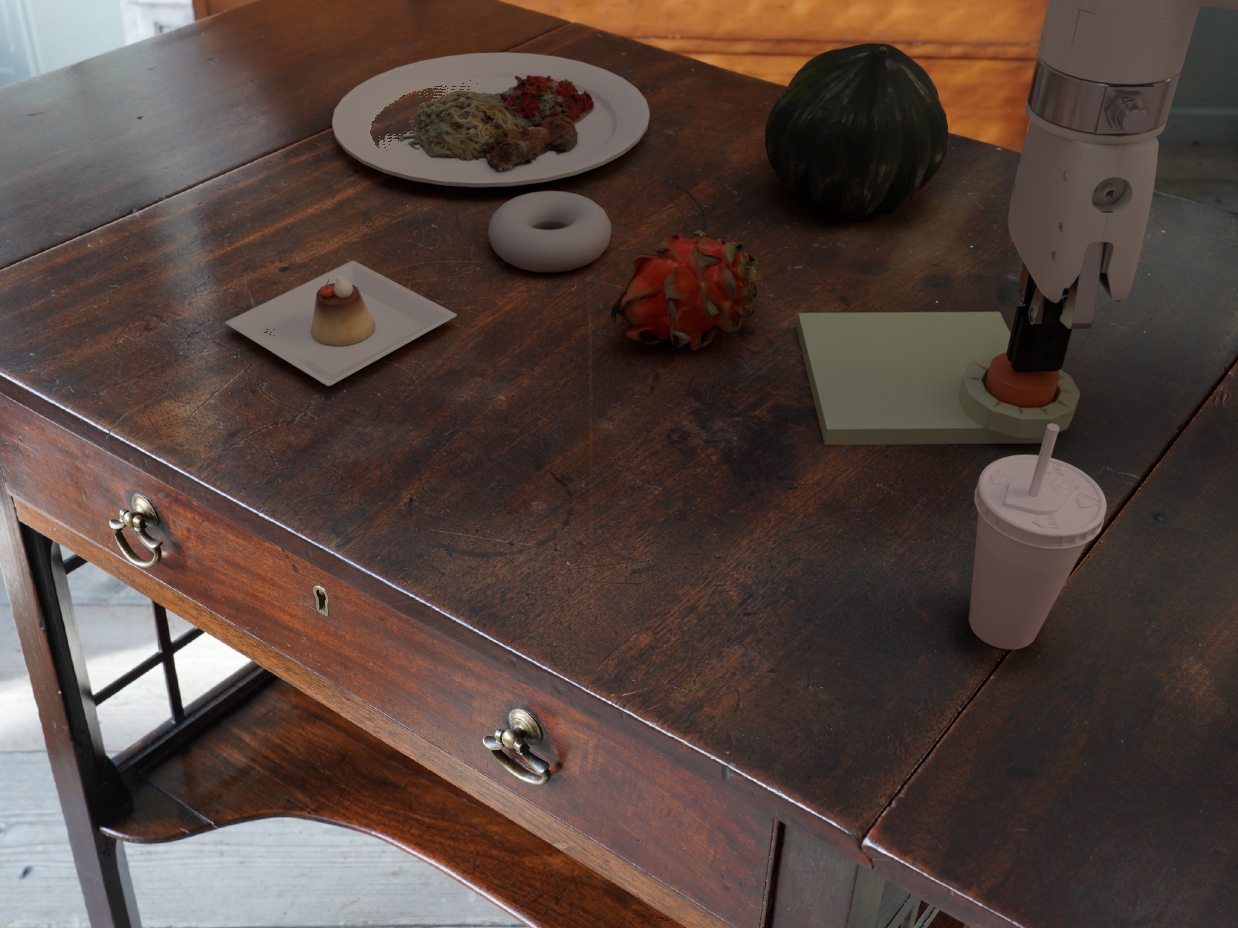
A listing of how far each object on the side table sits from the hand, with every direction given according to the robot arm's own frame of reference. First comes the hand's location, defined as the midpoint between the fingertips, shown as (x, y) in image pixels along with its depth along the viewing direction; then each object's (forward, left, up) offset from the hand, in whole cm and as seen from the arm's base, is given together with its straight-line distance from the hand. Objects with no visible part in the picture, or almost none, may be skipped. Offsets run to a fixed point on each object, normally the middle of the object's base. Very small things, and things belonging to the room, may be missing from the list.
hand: (1033, 364), depth 79 cm
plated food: (+38, -47, -5) cm, 60 cm away
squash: (+6, -33, -5) cm, 33 cm away
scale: (+6, -5, -5) cm, 9 cm away
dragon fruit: (+22, -11, -5) cm, 25 cm away
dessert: (+47, -12, -5) cm, 49 cm away
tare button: (0, 0, -2) cm, 2 cm away
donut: (+32, -24, -5) cm, 40 cm away
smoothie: (+6, +18, -5) cm, 20 cm away
